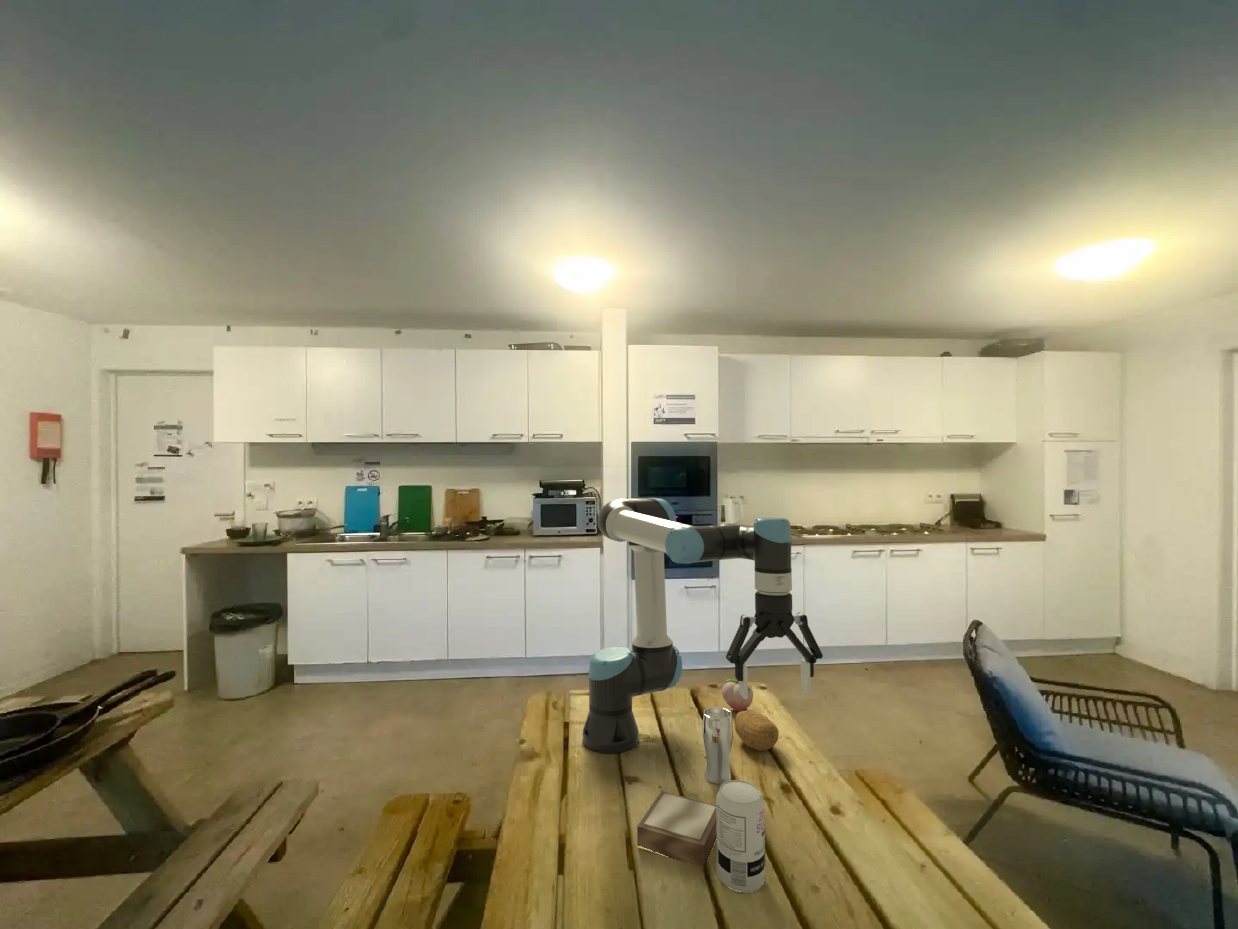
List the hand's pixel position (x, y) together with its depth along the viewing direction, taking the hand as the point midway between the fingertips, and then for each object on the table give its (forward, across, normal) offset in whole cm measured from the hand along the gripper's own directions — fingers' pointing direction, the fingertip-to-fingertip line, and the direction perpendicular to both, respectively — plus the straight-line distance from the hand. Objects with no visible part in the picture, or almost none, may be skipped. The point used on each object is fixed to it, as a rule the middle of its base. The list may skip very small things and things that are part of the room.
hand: (775, 694), depth 112 cm
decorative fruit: (+25, +11, +51) cm, 58 cm away
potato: (+25, +7, +30) cm, 39 cm away
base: (+25, -21, -3) cm, 33 cm away
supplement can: (+25, -14, -15) cm, 33 cm away
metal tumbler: (+25, -7, +16) cm, 31 cm away
